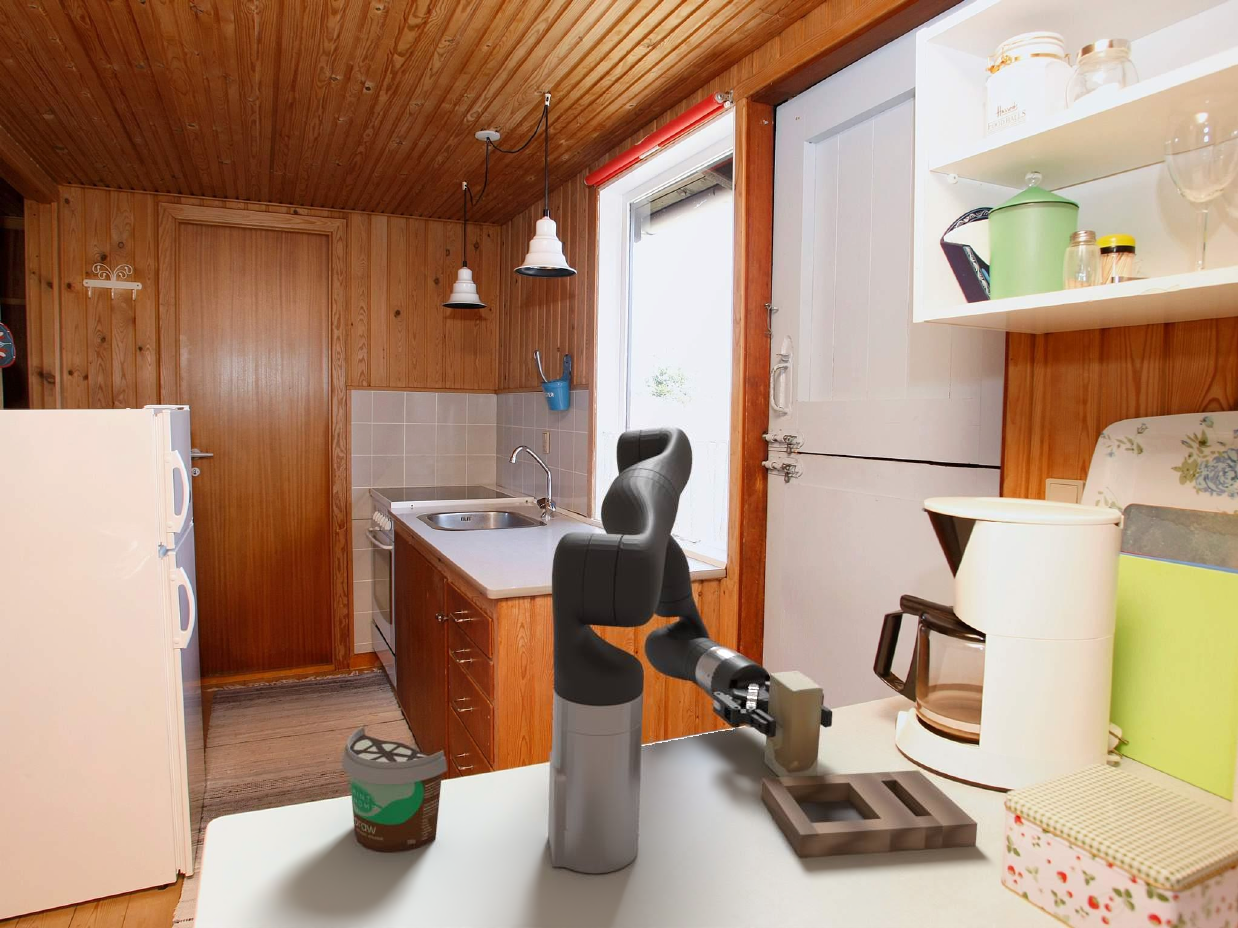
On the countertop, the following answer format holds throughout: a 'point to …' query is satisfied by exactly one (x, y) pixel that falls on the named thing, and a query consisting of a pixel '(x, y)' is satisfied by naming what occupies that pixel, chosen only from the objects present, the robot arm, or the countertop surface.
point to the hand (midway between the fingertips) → (802, 724)
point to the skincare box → (794, 724)
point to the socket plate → (865, 813)
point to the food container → (392, 793)
